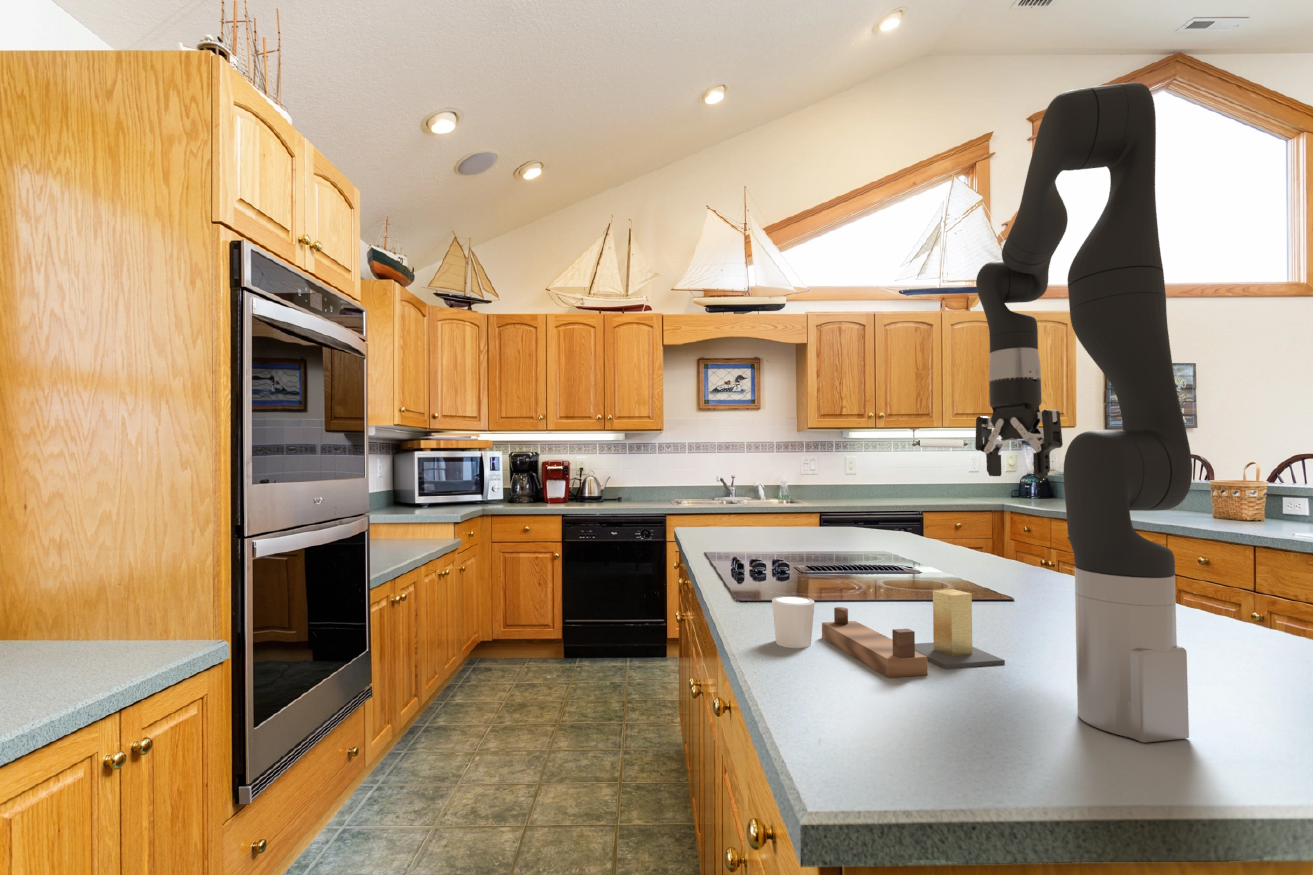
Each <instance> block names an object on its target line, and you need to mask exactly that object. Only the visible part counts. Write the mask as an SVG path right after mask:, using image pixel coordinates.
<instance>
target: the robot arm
mask: <svg viewBox="0 0 1313 875" xmlns="http://www.w3.org/2000/svg"><path fill="white" fill-rule="evenodd" d="M1156 118H1157V117H1156V107H1155V101H1154V96H1153V94H1152V93H1151V90H1150V88H1149V87H1148V86H1147V85H1146V84H1144V83H1142V82H1121V83H1115V84H1105V85H1096V86H1091V87H1082V88H1077V89H1076V88H1074V89H1070V90H1066V91H1062V92H1061V93H1059V94H1058V95H1056V96H1055V97H1054V98H1053V99H1052V100H1051V101H1050V103H1049V104H1048V105H1047V109H1046V110H1045V112H1044V114H1043V116H1042V119H1041V122H1040V124H1039V128H1038V131H1037V135H1036V138H1035V142H1034V145H1033V150H1032V153H1031V158H1030V161H1029V166H1028V170H1027V173H1026V174H1027V175H1026V178H1025V182H1024V185H1023V186H1024V187H1023V191H1022V196H1021V200H1020V204H1019V208H1018V212H1017V214H1016V217H1015V219H1014V221H1013V224H1012V225H1011V228H1010V231H1009V233H1008V235H1007V237H1006V239H1005V242H1004V244H1003V247H1002V250H1001V259H1002V260H997V261H990V262H987V263H985V264H984V265H983V266H982V267H981V268H980V269H979V271H978V273H977V275H976V278H975V279H976V280H975V281H976V282H975V287H976V291H977V292H976V293H977V296H978V298H979V301H980V303H981V307H982V309H983V311H984V315H985V318H986V323H987V326H988V332H989V334H988V335H989V363H988V388H989V389H988V393H989V394H988V395H989V407H991V409H992V415H991V416H977V417H976V420H975V450H977V451H978V452H979V451H980V452H982V453H984V454H985V456H986V472H987V473H988V476H989V477H1001V476H1002V454H1000V453H1001V452H1002V450H1003V449H1004V447H1005V446H1006V445H1007V444H1008V443H1009V442H1010V441H1015V440H1016V441H1017V440H1024V441H1025V442H1026V443H1029V445H1030V447H1032V449H1033V451H1035V452H1033V475H1034V477H1048V475H1049V474H1050V471H1051V459H1050V458H1051V456H1050V454H1051V452H1052V451H1053V450H1057V449H1060V448H1062V447H1063V444H1064V443H1063V434H1062V424H1061V423H1062V422H1061V412H1060V411H1059V410H1058V409H1057V410H1056V409H1044V410H1042V411H1041V410H1040V406H1041V404H1042V402H1043V401H1042V377H1041V376H1042V373H1041V372H1042V371H1041V370H1042V368H1041V360H1040V359H1041V358H1040V356H1039V355H1040V354H1039V343H1038V342H1039V341H1038V340H1039V338H1038V334H1039V333H1038V321H1037V319H1036V318H1035V317H1034V316H1032V315H1029V314H1025V313H1019V312H1015V311H1012V310H1010V309H1009V308H1008V306H1007V304H1015V303H1016V304H1018V303H1031V302H1034V301H1036V300H1038V299H1040V298H1041V297H1042V296H1043V295H1044V294H1045V293H1046V292H1047V289H1048V286H1049V271H1050V265H1051V261H1052V257H1053V256H1054V254H1055V252H1056V250H1057V248H1058V247H1059V245H1060V243H1061V241H1062V239H1063V237H1064V235H1065V233H1066V231H1067V227H1068V220H1069V218H1068V211H1067V207H1066V205H1065V203H1064V200H1063V198H1062V196H1061V195H1060V192H1059V190H1058V188H1057V184H1056V180H1057V178H1058V177H1059V175H1060V174H1061V173H1062V172H1063V171H1067V172H1068V171H1069V172H1072V171H1079V170H1080V171H1081V170H1088V169H1089V170H1090V169H1099V168H1100V169H1101V168H1105V167H1106V168H1107V169H1108V171H1109V175H1110V176H1109V178H1110V186H1109V195H1108V199H1107V202H1106V204H1105V207H1104V208H1103V211H1102V213H1101V215H1100V216H1099V218H1098V219H1097V221H1096V223H1095V225H1094V226H1093V228H1091V230H1090V232H1089V233H1088V234H1087V237H1086V238H1085V240H1084V241H1083V243H1082V244H1081V246H1080V248H1079V249H1078V251H1077V252H1076V255H1075V256H1074V258H1073V260H1072V261H1071V264H1070V265H1069V269H1068V274H1067V291H1068V302H1069V304H1068V305H1069V316H1070V317H1069V318H1070V323H1071V327H1072V329H1073V331H1074V333H1075V336H1076V338H1077V340H1078V341H1079V343H1080V345H1082V347H1083V348H1084V350H1085V351H1086V353H1087V354H1088V355H1089V357H1090V358H1091V359H1092V360H1093V361H1094V363H1095V364H1096V365H1097V367H1098V368H1099V369H1100V370H1101V372H1102V373H1103V374H1104V376H1105V377H1106V379H1107V380H1108V382H1109V384H1110V386H1111V387H1112V389H1113V391H1114V394H1115V397H1116V399H1117V402H1118V406H1119V411H1120V418H1121V424H1122V430H1121V429H1120V430H1119V429H1118V430H1116V429H1113V430H1111V429H1110V430H1109V429H1108V430H1107V429H1106V430H1104V429H1103V430H1101V429H1100V430H1099V429H1097V430H1096V429H1094V430H1089V431H1084V432H1081V433H1079V434H1078V435H1076V436H1075V437H1074V438H1073V439H1072V441H1070V444H1069V445H1068V446H1067V449H1066V452H1065V455H1064V461H1063V488H1064V489H1063V491H1064V499H1065V500H1064V501H1065V511H1066V512H1065V513H1066V524H1067V536H1068V541H1069V543H1070V544H1069V545H1070V546H1071V550H1072V552H1073V560H1074V597H1075V598H1074V602H1075V603H1074V605H1075V606H1074V607H1075V608H1074V609H1075V610H1074V611H1075V655H1076V656H1075V657H1076V687H1077V688H1076V689H1077V690H1076V695H1077V698H1076V699H1077V701H1076V702H1077V715H1078V718H1080V719H1081V720H1082V721H1084V722H1085V723H1087V724H1088V725H1091V726H1092V727H1094V728H1096V729H1099V730H1102V731H1104V732H1107V733H1111V734H1115V735H1119V736H1123V737H1126V738H1131V739H1133V740H1136V741H1138V742H1140V743H1152V742H1162V741H1163V742H1164V741H1171V740H1173V741H1174V740H1181V739H1189V738H1190V728H1189V727H1190V723H1189V721H1190V720H1189V718H1190V717H1189V688H1188V687H1189V686H1188V683H1189V682H1188V656H1187V655H1188V654H1187V653H1188V652H1187V649H1186V648H1184V647H1183V646H1179V645H1178V643H1177V642H1178V641H1177V639H1178V637H1177V609H1176V608H1177V606H1176V604H1177V603H1176V601H1177V597H1176V594H1177V593H1176V575H1175V574H1176V562H1175V555H1174V553H1173V551H1172V550H1171V549H1170V548H1169V547H1167V546H1165V545H1162V544H1161V543H1157V542H1154V541H1151V540H1150V539H1149V540H1148V539H1147V538H1145V537H1143V536H1142V535H1140V534H1139V533H1138V532H1137V531H1136V530H1135V529H1134V527H1133V523H1132V518H1131V512H1130V511H1134V512H1135V511H1137V512H1138V511H1139V512H1141V511H1143V512H1144V511H1145V512H1148V511H1150V512H1151V511H1153V512H1154V511H1157V512H1158V511H1168V510H1172V509H1174V508H1175V507H1178V506H1179V505H1180V504H1181V503H1183V501H1184V500H1185V499H1186V497H1187V496H1188V493H1189V492H1190V489H1191V486H1192V480H1193V460H1192V454H1191V453H1192V452H1191V447H1190V442H1189V439H1188V437H1189V436H1188V434H1187V429H1186V424H1185V420H1184V416H1183V412H1182V408H1181V403H1180V399H1179V395H1178V394H1179V393H1178V390H1177V386H1176V380H1175V373H1174V366H1173V365H1174V364H1173V360H1172V351H1171V344H1170V335H1169V334H1170V333H1169V326H1168V315H1167V296H1166V295H1167V294H1166V292H1167V291H1166V284H1165V274H1164V267H1163V266H1164V265H1163V261H1162V254H1161V246H1160V237H1159V228H1158V227H1159V226H1158V216H1157V215H1158V213H1157V202H1156V154H1157V153H1156V150H1157V149H1156V148H1157V145H1156V144H1157V142H1156V140H1157V139H1156V138H1157V128H1156V127H1157V125H1156V122H1157V119H1156ZM1040 423H1041V424H1042V430H1041V428H1040V427H1039V425H1040Z"/></svg>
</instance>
